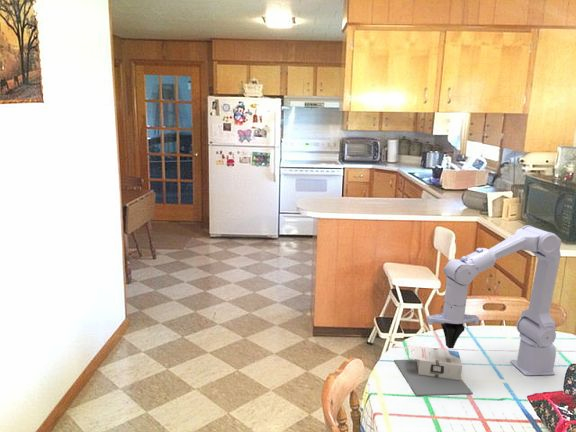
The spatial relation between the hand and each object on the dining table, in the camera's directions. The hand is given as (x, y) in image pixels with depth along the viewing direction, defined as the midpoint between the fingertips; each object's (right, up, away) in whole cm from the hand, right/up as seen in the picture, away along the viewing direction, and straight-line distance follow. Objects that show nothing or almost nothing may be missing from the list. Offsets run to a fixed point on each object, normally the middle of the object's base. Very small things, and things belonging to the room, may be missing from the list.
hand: (449, 346), depth 133 cm
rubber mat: (-5, -9, +1) cm, 10 cm away
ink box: (+4, -6, +3) cm, 8 cm away
